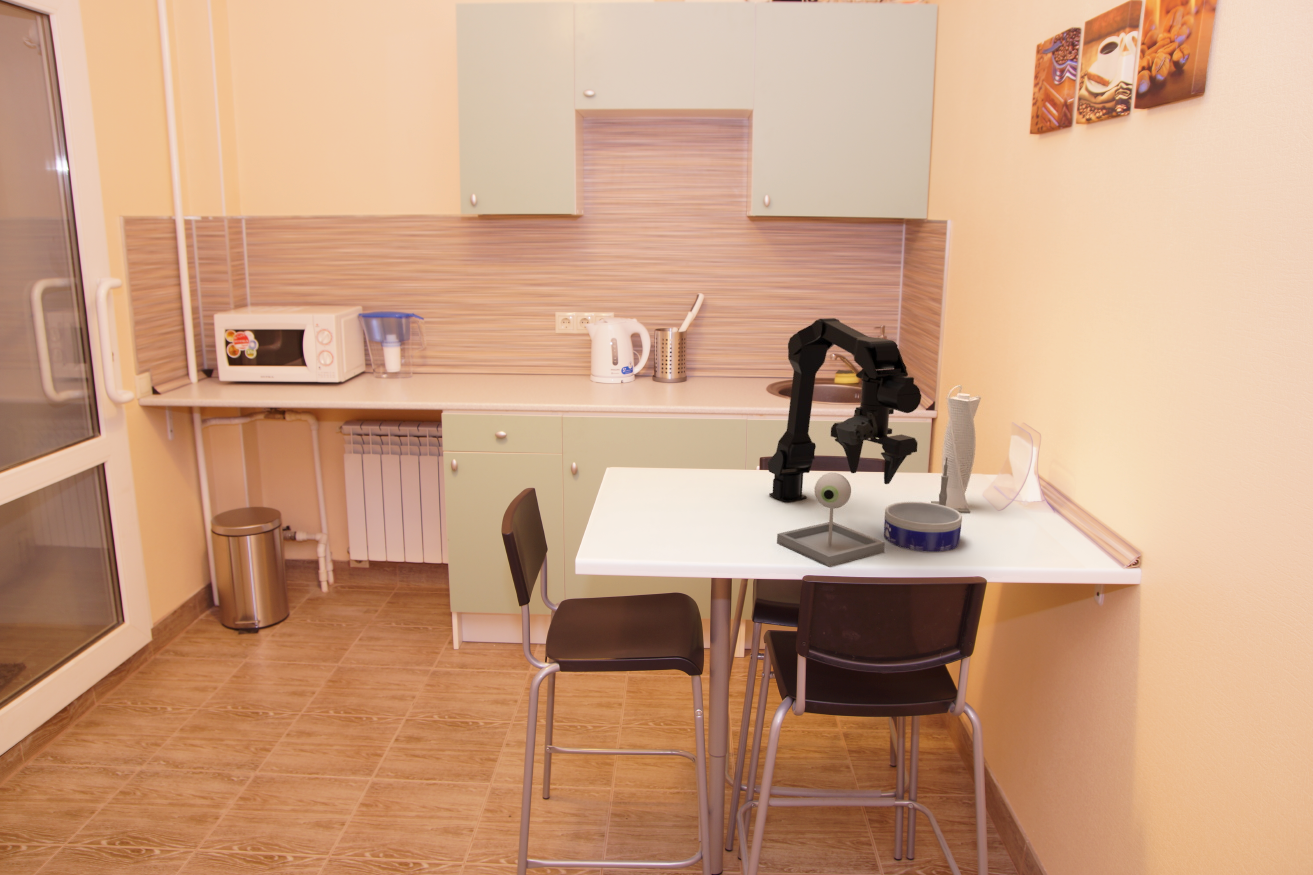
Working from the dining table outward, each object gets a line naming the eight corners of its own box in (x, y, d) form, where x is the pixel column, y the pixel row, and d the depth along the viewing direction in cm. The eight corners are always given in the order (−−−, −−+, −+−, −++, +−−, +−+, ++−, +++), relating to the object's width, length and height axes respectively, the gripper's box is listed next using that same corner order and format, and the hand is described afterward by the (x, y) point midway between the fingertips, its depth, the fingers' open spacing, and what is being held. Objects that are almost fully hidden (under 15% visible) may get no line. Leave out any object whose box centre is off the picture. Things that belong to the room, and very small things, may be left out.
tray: (831, 530, 193) (831, 521, 193) (884, 552, 181) (884, 542, 181) (776, 542, 185) (777, 533, 185) (828, 566, 173) (829, 556, 173)
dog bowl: (868, 532, 193) (870, 505, 192) (926, 524, 199) (928, 497, 197) (915, 556, 179) (917, 527, 178) (975, 547, 185) (978, 518, 184)
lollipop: (808, 548, 181) (811, 475, 178) (815, 537, 188) (819, 466, 184) (844, 553, 179) (848, 479, 175) (850, 541, 185) (855, 470, 182)
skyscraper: (929, 500, 214) (939, 383, 208) (964, 501, 214) (975, 384, 208) (939, 512, 206) (950, 390, 200) (975, 513, 206) (987, 391, 199)
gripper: (812, 399, 185) (808, 473, 189) (881, 416, 170) (875, 496, 174) (852, 394, 191) (847, 465, 195) (922, 410, 176) (915, 487, 180)
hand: (869, 478), depth 185 cm, fingers open, 9 cm apart
